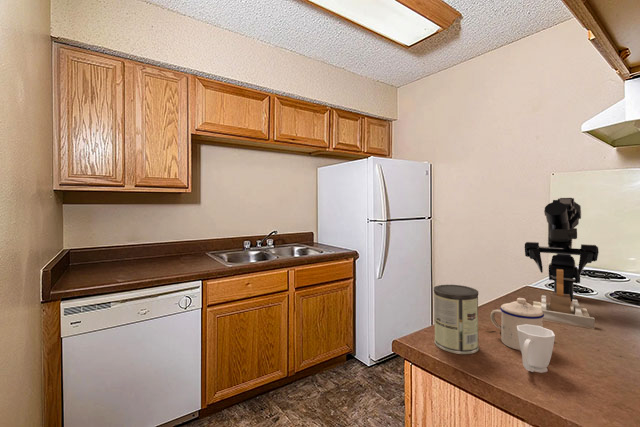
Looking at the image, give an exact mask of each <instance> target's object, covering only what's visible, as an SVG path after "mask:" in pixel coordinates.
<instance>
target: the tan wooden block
mask: <svg viewBox="0 0 640 427" xmlns="http://www.w3.org/2000/svg"><path fill="white" fill-rule="evenodd" d="M553 292H554V291H553ZM553 292H551V291H550V292H549V304H550V311H554V312H560V313H567V314H571V307H572V304H571V300H572V299H571V298H570V295H569V294H563V270H562V269H557V293H553Z"/></svg>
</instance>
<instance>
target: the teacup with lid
mask: <svg viewBox="0 0 640 427" xmlns="http://www.w3.org/2000/svg"><path fill="white" fill-rule="evenodd" d="M496 313H497V314H501V320H500V322H501V325H500V324H499V323H498V322H497V321H496V318H495V316H496V315H495V314H496ZM489 317H490V321H491V323H492V325H493V326H495V328H497V329H499V330H500V331H501V338H500V339H501V342H502V343H503V344H504V345H505V346H506V347H508V348H510V349H513V350H516V351H519V352H521V349H520V343H519V337H518V331H517V326H518V325H525V324H528V325H535V326H541V327H543V326H544V320H543V317H544V314H543V312H542V310H540V309H539V308H536V307H534V306H533V304H531V303H529V302H527V299H526V298H523V297H518V298H516V301H511V302H508V303H503V304H501V305H500V308H499V309H494V310H491V312H490V316H489ZM543 328H544V327H543Z"/></svg>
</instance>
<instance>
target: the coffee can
mask: <svg viewBox="0 0 640 427" xmlns="http://www.w3.org/2000/svg"><path fill="white" fill-rule="evenodd" d="M433 292H434V293H433V295H434V296H433V298H434V299H433V301H434V302H433V303H434V304H433V306H434V307H433V309H434V310H433V312H434V345H436V347H438V348H439V349H440V350H443V351H445V352H448V353H451V354H452V353H453V354H458V355H471V354H475V353H477V352H478V351H479V350H480V349H479V290H478V289H476V288H473V287H470V286H465V285H461V284H459V285H458V284H439V285H436V286H434V287H433Z"/></svg>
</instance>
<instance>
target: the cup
mask: <svg viewBox="0 0 640 427" xmlns="http://www.w3.org/2000/svg"><path fill="white" fill-rule="evenodd" d="M517 331H518V337H519V343H520V349H521V351H520V353H521V357H522V358H521V359H522V365H523V368H524V369H525V370H526V371H529V372H531V373H533V372H534V373H535V372H536V373H540V374H541V373H547V372H548V368H547V367H548V366H549V365H550V361H551V358H552V354H553V350H554V344H555V338H556V335H555V332H554V331H553V330H551V329H549V328H546V327H541V326H535V325H528V324H525V325H518V326H517Z"/></svg>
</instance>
